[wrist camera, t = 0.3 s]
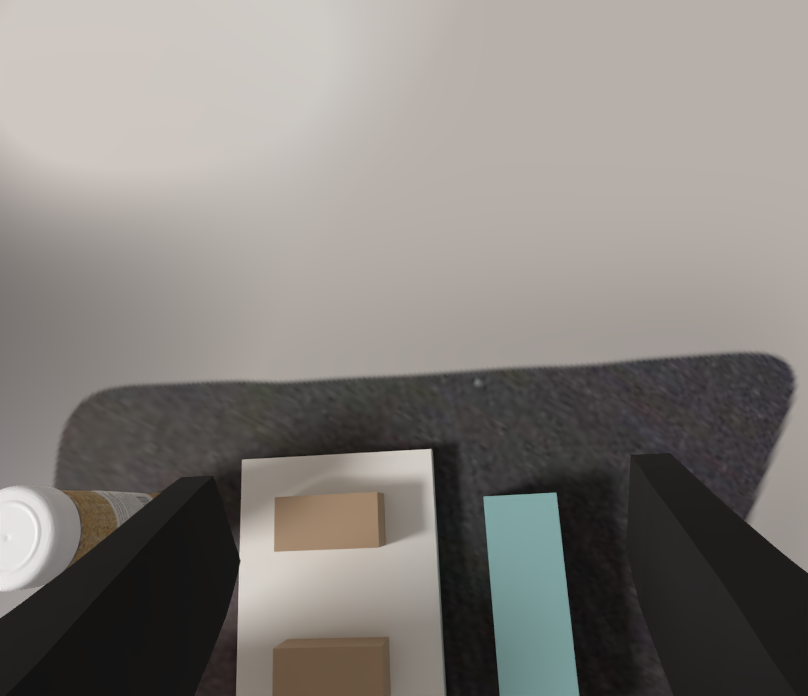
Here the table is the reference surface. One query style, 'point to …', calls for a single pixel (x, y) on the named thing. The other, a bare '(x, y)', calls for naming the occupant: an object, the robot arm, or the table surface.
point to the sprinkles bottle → (55, 529)
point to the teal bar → (529, 596)
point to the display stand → (340, 577)
